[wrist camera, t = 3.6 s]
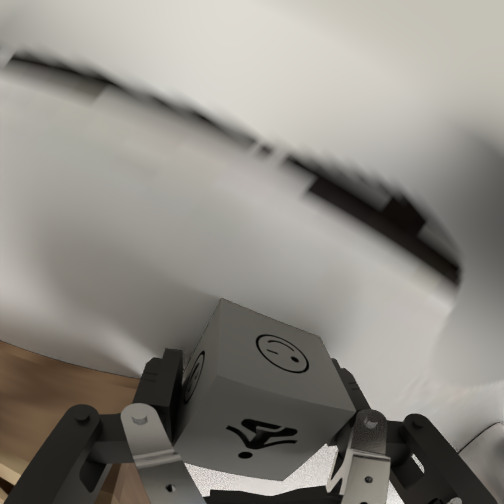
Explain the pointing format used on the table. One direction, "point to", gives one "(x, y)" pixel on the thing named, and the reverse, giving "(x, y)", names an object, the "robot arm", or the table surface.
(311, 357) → the dice cube
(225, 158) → the table surface
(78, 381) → the open wooden box
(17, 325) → the table surface
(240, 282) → the table surface
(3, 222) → the table surface
